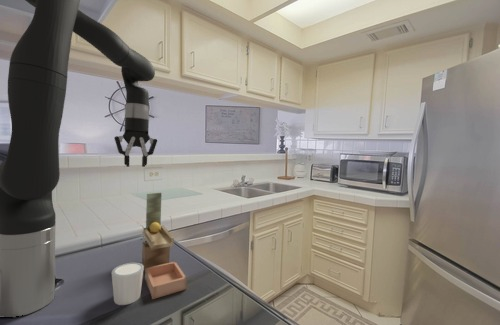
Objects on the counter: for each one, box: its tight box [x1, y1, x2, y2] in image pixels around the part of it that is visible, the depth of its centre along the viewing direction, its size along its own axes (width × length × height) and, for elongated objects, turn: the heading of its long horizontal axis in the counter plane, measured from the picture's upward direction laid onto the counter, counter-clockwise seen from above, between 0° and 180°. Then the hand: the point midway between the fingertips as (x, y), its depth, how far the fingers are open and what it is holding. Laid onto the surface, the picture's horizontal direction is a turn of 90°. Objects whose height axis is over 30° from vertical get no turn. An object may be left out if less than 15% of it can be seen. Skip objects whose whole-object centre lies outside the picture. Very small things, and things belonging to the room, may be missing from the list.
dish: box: [144, 261, 188, 300], centre depth 61 cm, size 8×10×3 cm
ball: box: [150, 222, 161, 233], centre depth 73 cm, size 3×3×3 cm
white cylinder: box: [111, 262, 144, 306], centre depth 55 cm, size 7×7×7 cm
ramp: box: [141, 192, 175, 250], centre depth 70 cm, size 6×14×13 cm, turn 34°
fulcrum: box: [141, 240, 171, 272], centre depth 71 cm, size 7×4×8 cm, turn 124°
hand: (135, 166), depth 82 cm, fingers open, 4 cm apart
